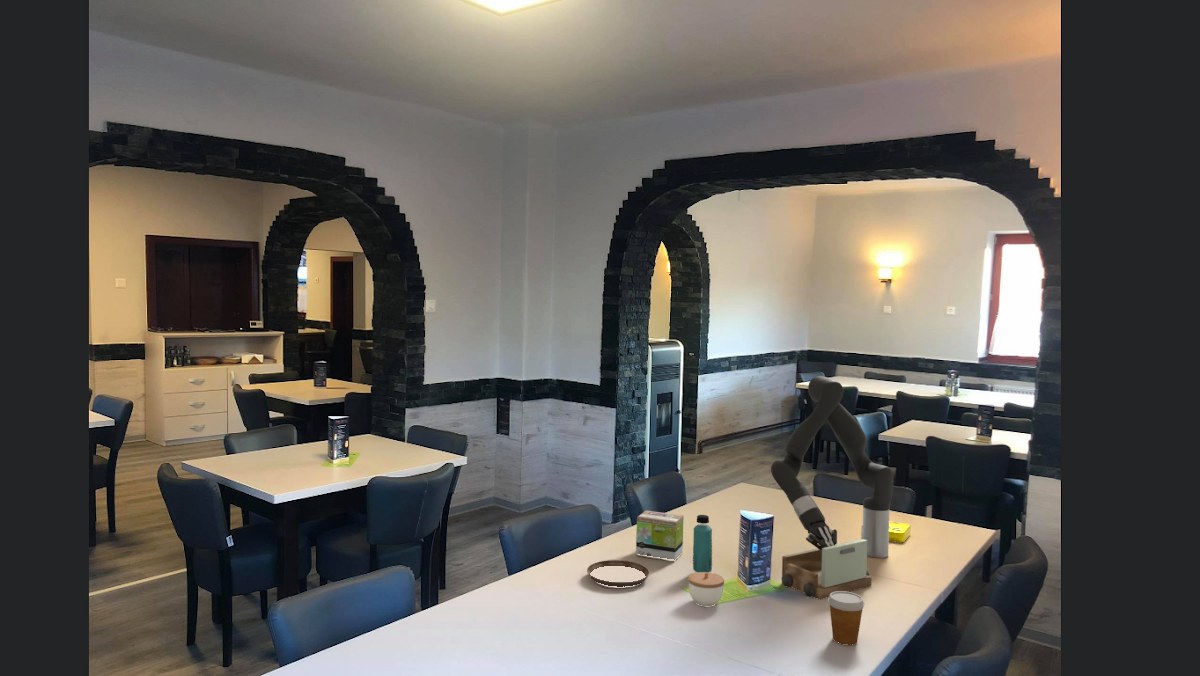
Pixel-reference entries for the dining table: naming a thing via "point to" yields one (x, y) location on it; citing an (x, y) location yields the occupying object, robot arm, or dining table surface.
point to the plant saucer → (618, 563)
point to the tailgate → (844, 563)
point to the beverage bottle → (702, 545)
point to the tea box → (659, 534)
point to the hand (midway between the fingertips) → (835, 559)
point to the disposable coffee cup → (845, 616)
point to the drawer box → (813, 575)
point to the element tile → (898, 531)
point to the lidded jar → (706, 588)
